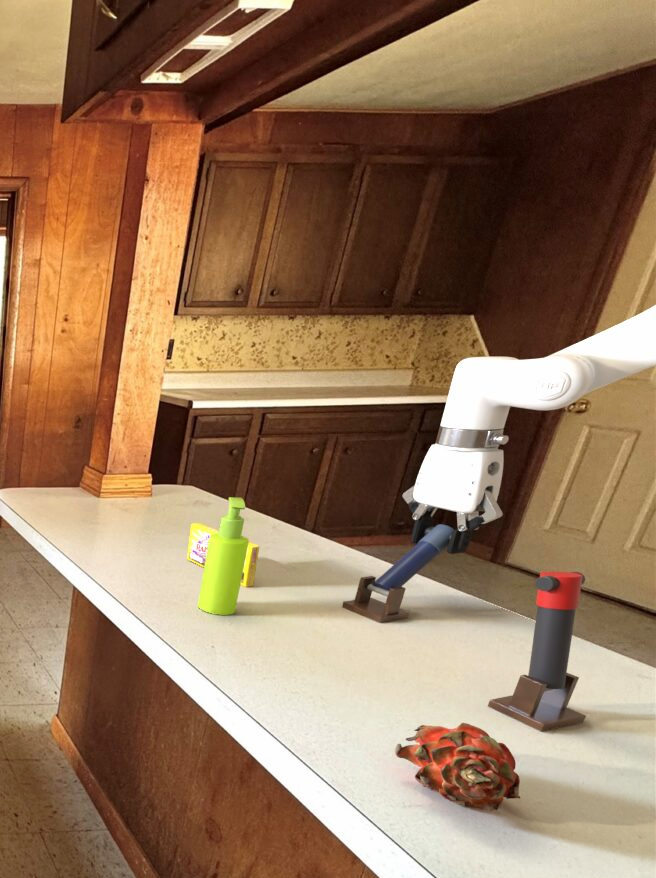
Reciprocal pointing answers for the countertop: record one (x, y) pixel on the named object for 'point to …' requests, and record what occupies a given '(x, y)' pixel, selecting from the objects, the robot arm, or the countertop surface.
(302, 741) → the countertop surface
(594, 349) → the robot arm
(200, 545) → the candy box
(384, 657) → the countertop surface
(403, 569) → the navy marker
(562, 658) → the red marker
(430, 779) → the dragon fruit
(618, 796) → the countertop surface
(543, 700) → the holder
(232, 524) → the soap dispenser
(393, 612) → the holder
